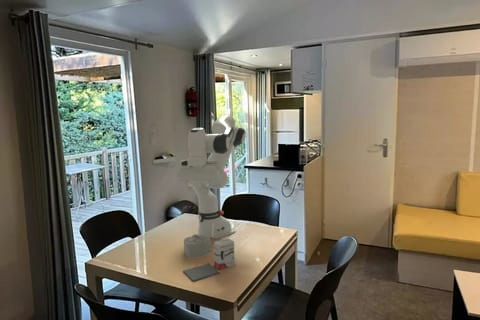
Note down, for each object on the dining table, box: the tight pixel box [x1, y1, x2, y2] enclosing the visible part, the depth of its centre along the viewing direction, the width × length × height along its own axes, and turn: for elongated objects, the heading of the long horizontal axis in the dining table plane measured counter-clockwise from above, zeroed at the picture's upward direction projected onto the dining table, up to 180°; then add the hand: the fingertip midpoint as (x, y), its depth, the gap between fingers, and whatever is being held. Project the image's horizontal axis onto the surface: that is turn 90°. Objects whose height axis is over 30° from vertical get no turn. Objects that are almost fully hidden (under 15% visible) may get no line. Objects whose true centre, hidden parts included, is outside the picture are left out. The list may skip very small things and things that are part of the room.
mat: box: [182, 263, 221, 282], centre depth 153 cm, size 13×11×1 cm
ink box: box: [213, 238, 236, 271], centre depth 159 cm, size 8×5×12 cm, turn 123°
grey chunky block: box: [183, 233, 212, 259], centre depth 174 cm, size 10×13×9 cm
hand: (199, 189), depth 168 cm, fingers open, 8 cm apart
